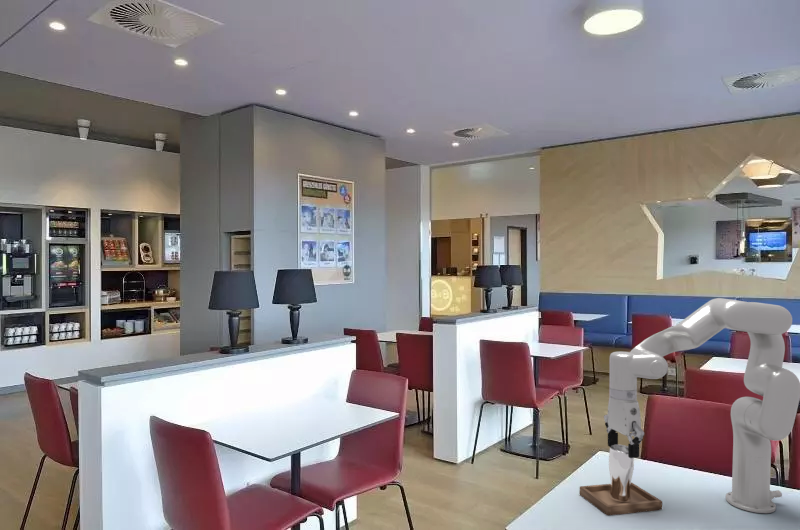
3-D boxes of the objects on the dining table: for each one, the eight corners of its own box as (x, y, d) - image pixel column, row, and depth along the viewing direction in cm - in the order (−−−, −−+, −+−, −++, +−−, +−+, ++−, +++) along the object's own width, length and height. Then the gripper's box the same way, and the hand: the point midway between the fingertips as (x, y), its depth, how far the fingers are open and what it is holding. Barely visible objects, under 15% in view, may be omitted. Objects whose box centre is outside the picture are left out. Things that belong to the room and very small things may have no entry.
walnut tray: (630, 489, 173) (630, 481, 173) (662, 509, 159) (662, 501, 159) (579, 494, 168) (579, 486, 168) (607, 515, 155) (607, 506, 155)
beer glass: (610, 491, 169) (612, 442, 168) (634, 497, 165) (636, 447, 165) (604, 499, 163) (606, 449, 163) (630, 505, 159) (631, 454, 159)
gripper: (654, 400, 156) (653, 460, 156) (615, 386, 173) (615, 441, 173) (630, 402, 154) (630, 463, 154) (594, 388, 171) (594, 443, 171)
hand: (622, 451), depth 164 cm, fingers open, 9 cm apart
